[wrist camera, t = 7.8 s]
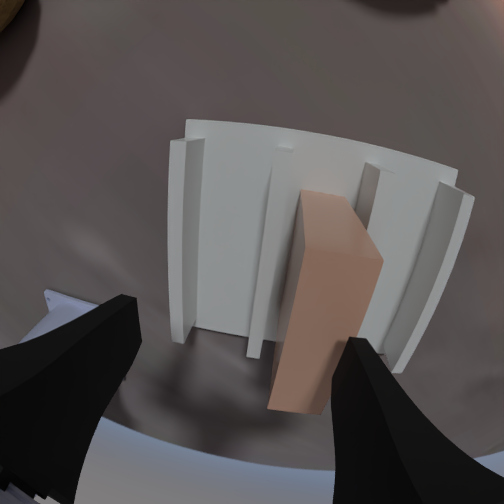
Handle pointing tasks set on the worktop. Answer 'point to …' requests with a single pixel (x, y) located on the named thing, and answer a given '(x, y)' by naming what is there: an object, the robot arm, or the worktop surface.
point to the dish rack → (283, 222)
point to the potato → (8, 11)
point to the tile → (320, 300)
